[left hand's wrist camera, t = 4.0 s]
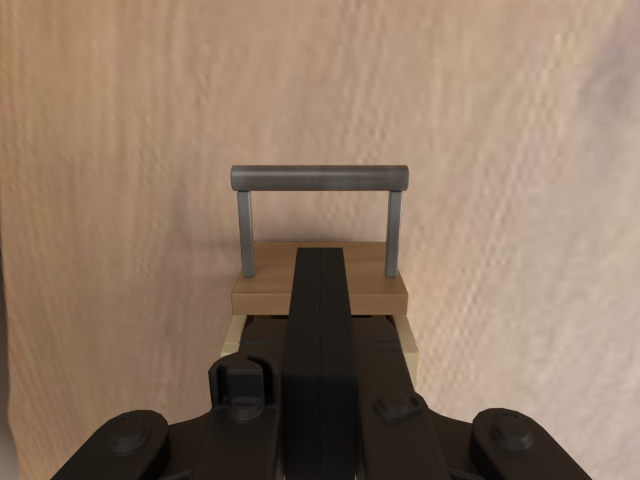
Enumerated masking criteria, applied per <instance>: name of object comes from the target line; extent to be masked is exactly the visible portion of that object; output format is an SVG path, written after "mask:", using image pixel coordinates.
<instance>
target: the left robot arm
mask: <svg viewBox="0 0 640 480" xmlns="http://www.w3.org/2000/svg"><path fill="white" fill-rule="evenodd" d="M208 375H209V384H210V393H211V403H212V408H211V411H209V412H208V413H206V414H204V415H202V416H200V417H197V418H194V419H191V420H188V421H184V422H180V423H176V424H172V425H168V423H167V421H166V420H165V418H164V417H163V416H162V415H161V414H159V413H157V412H154V411H152V410H135V411H131V412H126V413H123V414H121V415H119V416H116V417H114V418H112V419H110V420H109V421H107V422H106V423H105V424H104V425H102V426H101V427H100V428H99V429H97V431H96V432H95V433H94V434H93V435H92V436H91V437H90V438H89V439H88V440H87V441H86V442H85V443H84V444H83V445H82V446H81V447H80V449H79V450H78V451H77V452H76V453H75V454H74V455H73V456H72V457H71V458H70V459H69V460H68V461H67V462H66V463H65V464H64V465H63V467H62V468H61V469H60V470H59V471H58V472H57V473H56V474H55V475H54V476H53V477H52V478H51V479H50V480H284V475H285V480H355V473H356V480H592V479H591V478H590V477H589V475H588V474H587V473H586V472H585V471H584V470H583V469H582V468H581V467H580V466H579V465H578V464H577V463H576V462H575V461H574V460H573V459H572V458H571V457H570V455H569V454H568V453H567V452H566V451H565V450H564V449H563V448H562V447H561V446H560V445H559V444H558V443H557V442H556V441H555V440H554V439H553V438H552V437H551V436H550V434H549V433H548V432H547V431H546V430H545V429H544V428H543V427H542V426H540V425H539V424H538V423H537V422H535V421H534V420H533V419H532V418H530V417H528V416H526V415H524V414H522V413H519V412H517V411H513V410H509V409H505V408H489V409H487V410H484V411H482V412H479V413H478V414H477V416H476V417H475V418H474V419H473V423H468V422H463V421H459V420H455V419H451V418H448V417H445V416H442V415H440V414H438V413H436V412H434V411H432V410H430V409H429V408H428V405H427V404H426V402H425V400H424V399H423V397H422V396H420V395H419V394H418V393H416V392H415V390H414V387H413V384H412V380H411V377H410V374H409V370H408V367H407V364H406V360H405V357H404V354H403V350H402V347H401V343H400V340H399V337H398V333H397V330H396V328H395V327H394V326H393V325H392V324H391V323H390V322H389V321H388V320H387V319H386V318H352V315H351V308H350V300H349V292H348V285H347V277H346V269H345V262H344V254H343V247H297V254H296V262H295V269H294V277H293V285H292V292H291V300H290V308H289V315H288V319H255V320H254V321H253V322H251V323H250V324H249V325H248V326H247V327H246V328H245V329H244V332H243V335H242V339H241V344H240V345H239V349H238V352H234V353H232V354H229V355H226V356H223V357H222V358H220V359H219V360H218V361H216V362H215V363H214V364H213V365H212V367H211V368H210V369H209V371H208Z"/></svg>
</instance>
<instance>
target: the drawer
mask: <svg viewBox="0 0 640 480" xmlns="http://www.w3.org/2000/svg"><path fill="white" fill-rule="evenodd" d="M408 184H409V170H408V166H407V165H233V166H232V168H231V186H232V189H233V190H234V191H238V192H237V198H238V213H239V227H240V242H241V256H242V269H241V271H240V274H239V276H238V279H237V281H236V284H235V286H234V289H233V291H232V294H231V300H232V312H233V315H255V317H254V320H255V319H288V315H289V308H290V300H291V292H292V285H293V277H294V269H295V262H296V254H297V247H343V254H344V262H345V269H346V277H347V285H348V292H349V300H350V308H351V315H352V318H385V315H407V309H408V296H409V294H408V292H407V289H406V287H405V284H404V282H403V279H402V277H401V274H400V272H399V270H398V252H399V237H400V223H401V208H402V191H406V190H407V188H408ZM251 191H389V201H388V218H387V236H386V242H254V241H253V224H252V207H251Z"/></svg>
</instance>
